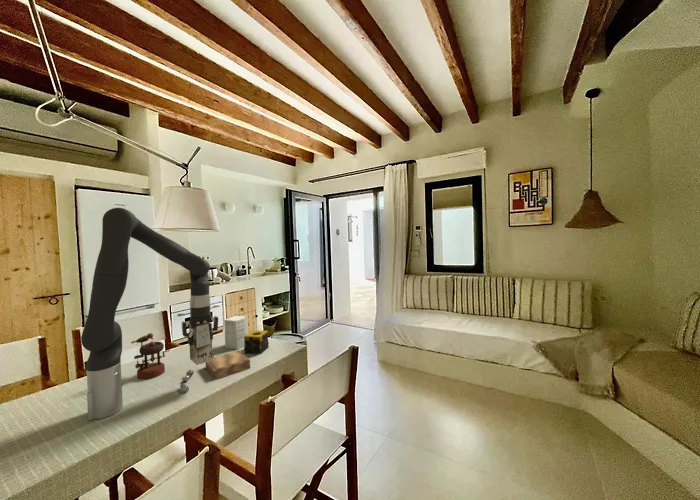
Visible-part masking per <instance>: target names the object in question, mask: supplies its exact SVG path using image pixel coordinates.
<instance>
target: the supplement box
mask: <svg viewBox="0 0 700 500" xmlns="http://www.w3.org/2000/svg"><path fill="white" fill-rule="evenodd" d="M223 322H224V323H223V325H224V345H225V347H224V348H225V349H233V350H239V349H241V348H244V336H245V335H247V334H248V333H249V329H248V327H249V326H248V316H243V315H234V316H230V317H228V318H226V319H224V320H223Z"/></svg>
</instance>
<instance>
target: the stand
mask: <svg viewBox="0 0 700 500" xmlns="http://www.w3.org/2000/svg"><path fill="white" fill-rule="evenodd" d="M205 368H206V370H207V371H208V372H209V374H210V375H211V377H212V378H213V380H218V379H221V378H224V377H227V376H230V375H233V374H236V373H239V372H240V373H241V372H243V371H246V370H249V369H251V359H250V358H248V357H247V356H246V355H245V354H243V353H242V352H241V351H240V350H239V349H237V350H234V351H231V352H228V353H225V354H221V355H220V354H219V355H218V356H214V357H213V356H212V361H209V362H206V363H205Z"/></svg>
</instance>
